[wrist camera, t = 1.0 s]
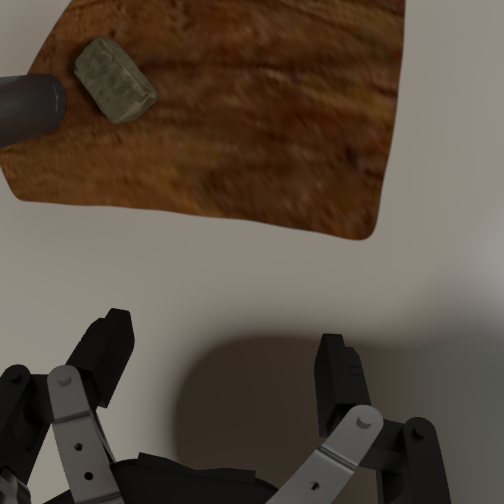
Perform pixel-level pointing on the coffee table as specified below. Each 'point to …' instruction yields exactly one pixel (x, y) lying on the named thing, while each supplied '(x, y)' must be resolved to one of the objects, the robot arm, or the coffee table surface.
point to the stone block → (114, 81)
